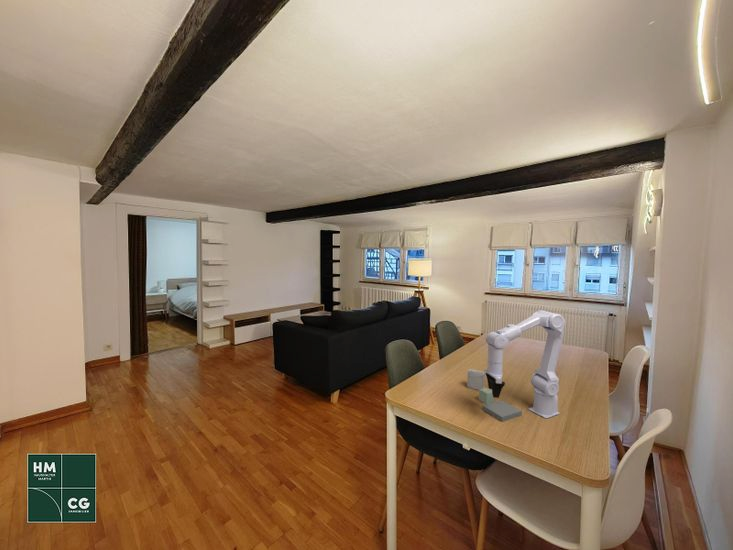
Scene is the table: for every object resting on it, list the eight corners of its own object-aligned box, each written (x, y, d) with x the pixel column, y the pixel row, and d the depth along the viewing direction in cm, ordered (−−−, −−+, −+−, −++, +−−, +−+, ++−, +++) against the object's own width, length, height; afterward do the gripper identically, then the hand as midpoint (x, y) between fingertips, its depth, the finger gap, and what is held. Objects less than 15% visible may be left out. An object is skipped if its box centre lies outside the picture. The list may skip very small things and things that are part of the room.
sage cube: (485, 398, 135) (486, 387, 135) (493, 402, 131) (494, 391, 131) (478, 399, 134) (479, 389, 133) (486, 404, 129) (487, 393, 129)
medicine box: (484, 388, 146) (485, 371, 145) (483, 391, 142) (484, 374, 141) (468, 384, 150) (469, 368, 149) (466, 387, 146) (467, 371, 145)
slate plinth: (501, 404, 130) (501, 400, 130) (521, 415, 121) (521, 410, 121) (482, 409, 125) (482, 405, 124) (501, 421, 116) (502, 417, 115)
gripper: (481, 354, 127) (480, 384, 128) (488, 366, 113) (487, 400, 113) (498, 356, 125) (496, 386, 126) (508, 368, 111) (506, 402, 112)
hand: (493, 392), depth 120 cm, fingers open, 7 cm apart
